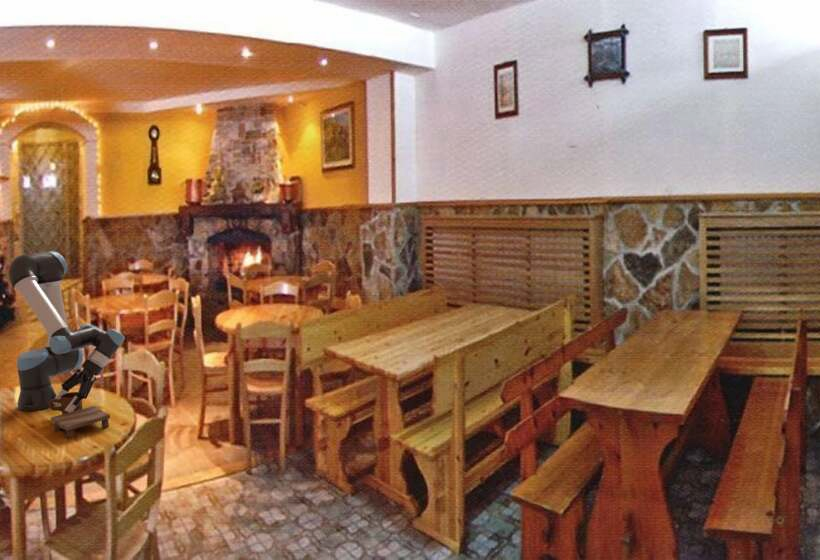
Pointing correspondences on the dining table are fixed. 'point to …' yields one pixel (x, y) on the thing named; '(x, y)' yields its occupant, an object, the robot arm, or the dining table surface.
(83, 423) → the brown wooden bench
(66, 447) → the dining table surface
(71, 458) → the dining table surface
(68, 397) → the mug
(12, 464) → the dining table surface
